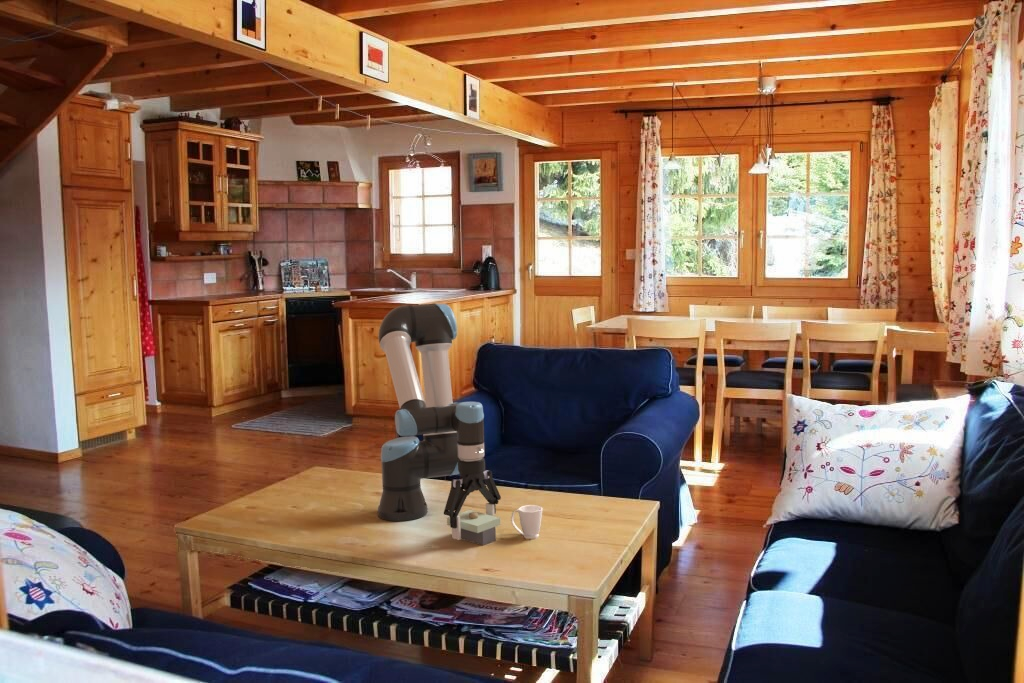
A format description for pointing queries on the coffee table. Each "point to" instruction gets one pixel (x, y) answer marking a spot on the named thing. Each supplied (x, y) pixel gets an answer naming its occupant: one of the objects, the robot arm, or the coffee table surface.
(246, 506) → the coffee table surface
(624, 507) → the coffee table surface
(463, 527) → the lid
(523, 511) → the cup
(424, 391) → the robot arm
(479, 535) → the block
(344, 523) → the coffee table surface
